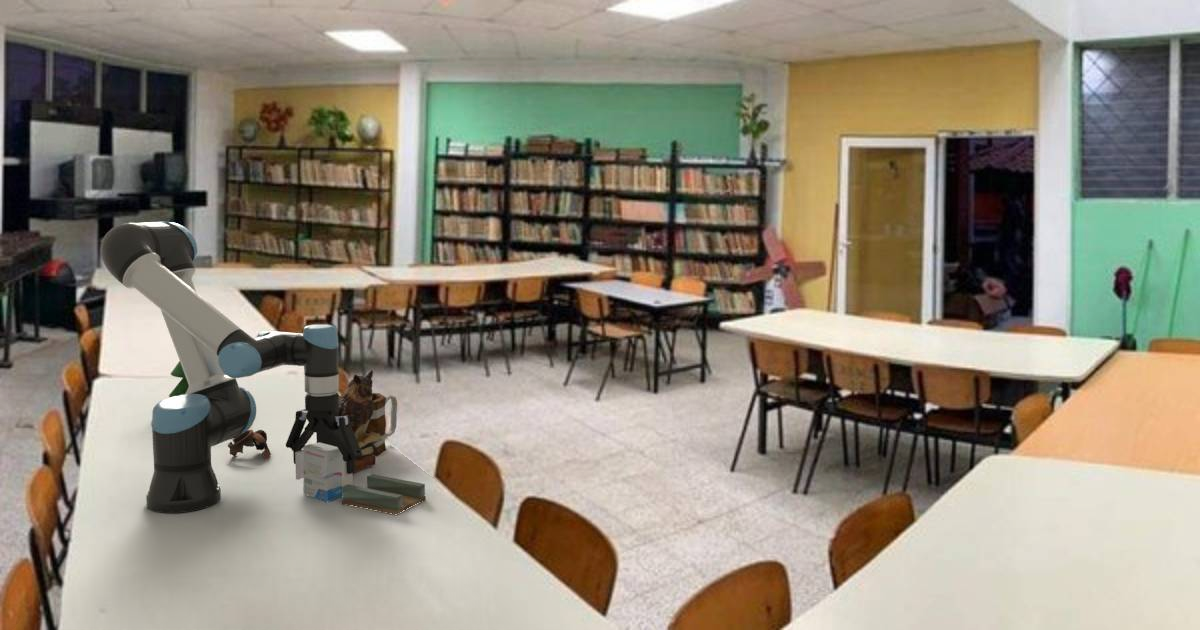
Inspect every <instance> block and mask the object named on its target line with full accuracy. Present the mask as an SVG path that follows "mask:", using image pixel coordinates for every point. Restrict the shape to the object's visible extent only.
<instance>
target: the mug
mask: <svg viewBox="0 0 1200 630" xmlns="http://www.w3.org/2000/svg"><path fill="white" fill-rule="evenodd" d="M343 396H344V393H343V394H339V401H340V399H342V397H343ZM372 400H373V403H374V404H373V405H374V410H373V415H372V416H371V418H370V420H369V423H368V427H367V429H366V430H367V431H370V432H375V433H378V434H380V436H381V439H382V440H381V441H378V442H376V443H374V445H375V447H376V453H375V454H374V455H375V457H378V456H380V455H382V454H383V453H386V451H387V447H386V437H391V436H392V435H394V434H395V431H396V429H397V420H398V419H397V417H398V416H397V414H398V401H397V397H396V396H395V395H392V394H386V395H383V394H381V393H380V392H379V393H377V392H372ZM389 400H390V402H391V408H390V427H389V430H388V431H386V426H387V423H386V422H387V421H386V404H387V403H388V401H389Z"/></svg>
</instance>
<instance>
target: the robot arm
mask: <svg viewBox="0 0 1200 630" xmlns="http://www.w3.org/2000/svg"><path fill="white" fill-rule="evenodd" d="M193 235H194V234H192V233H191V232H190V230H189V229H188V228H186V227H185V226H184V225H181V224H179V223H176V222H169V221H163V220H161V221H159V220H158V221H151V222H125V223H121V224H118V225H116V226H113V227H112V228H111V229H110V230H108V231H107V232H106V234H105V235H104V236H103V239H102V241H101V244H100V257H101V259H102V262H103V264H104V267H105V268H106V269H107V271H108V272H109V273H110V274H111V276H112V277H114V279H116V280H117V281H118V282H119V283H120V284H122V285H123V286H124V287H125V288H126V289H135V290H136V291H138V292H139V293H140V294H141V295H143V296H144V297H145V298H147V300H149V301H150V302H151V303H153V304H154V305H155V306H156V307H158V309H160V312H161V314H162V317H163V320H164V322H165V325H166V327H167V329H168V333H169V335H170V339H171V341H172V344H173V346H174V348H175V351H176V354H177V357H178V360H179V361H180V362H181V365H182V368H183V371H184V373H185V376H186V379H187V381H188V384H189V388H188V390H187V392H186V394H183V395H180V396H173V397H169V396H168V397H167V398H165V399H162V400H160V401H159V402H157V403H156V404H155V405H154V407H153V409H152V412H151V413H152V414H151V416H152V417H151V418H152V419H151V423H150V424H151V425H150V426H151V431H152V449H153V450H152V452H153V455H152V456H153V475H152V477H151V481H150V485H149V490H148V491H147V493H146V499H145V500H146V507H147V508H148V509H149V510H151V511H153V512H158V513H167V514H168V513H169V514H170V513H171V514H173V513H174V514H175V513H176V514H177V513H187V512H194V511H198V510H202V509H206V508H208V507H210V506H213V505H215V504H217V503H218V502H219V501H220V500H221V498H222V497H221V486H220V484H219V483H218V482H219V481H218V479H217V476H216V473H215V471H214V468H213V466H212V447H215V446H217V445H219V444H222V443H225V442H227V441H229V440H233V439H234V438H236V437H238V436H240V435H241V434H243V433H244V432H246V431H247V430H250V429H251V427H252V426H253V424H254V422H255V420H256V418H257V403H256V401H255V397H253V396H254V395H252V393H251V392H250V391H248V390H246V388H244V387H242V386H239V384H238V382H237V381H238V380H237V379H240V378H246V377H252V376H254V375H256V374H258V373H261V372H265V371H268V370H271V369H274V368H275V369H276V368H278V367H281V366H297V367H303V369H304V370H303V371H304V372H303V373H304V375H303V376H304V392H305V393H306V394H305V395H304V408H303V409H299V410H297V411H296V412H295V418H294V419H295V420H294V422H293V424H292V427H291V430H290V432H289V435H288V438H287V440H286V442H285V447H286V448H288V449H289V448H290V449H291V451H292V452H293V455H292V456H293V463H294V465H295V479H296V480H301V479H304V464H303V447H304V446H305V445H307V443H308V442H309V441H310V440H311V438H312V436H313V435H314V433H315V434H316V433H318V432H321V433H323V434H327V435H328V436H329V437H331V438H332V440H333V441H334V443H335V444H336V446H337V447H338V449H339V451H340V452H341V454H342V455H343V457H344V458H345V459H344V460H342V488H343V486H345V485H348V484H349V485H354V484H353V483H354V482H353V481H354V480H353V479H354V478H353V477H354V475H353V473H355V472H356V471H355V458H357V457H360V456H362V452H361V449H360V447H359V444H358V442H357V439H356V437H355V434H354V432H353V429H352V427H351V423H350V417H349V415H346V416H339V415H338V409H339V396H340V394H339V392H338V391H339V390H340V381H339V380H340V379H339V378H340V375H339V346H340V343H339V336H338V329H337V328H336V327H335V326H334V325H332V324H310V325H306V326H305V327H304V328H303V332H302V333H301V332H300V333H299V332H287V331H277V330H271V331H261V332H259V333H258V334H257V335H256V336H255V337H254V338H253V337H252V336H250V334H248V333H247V332H245V331H244V330H243V329H242V328H241V327H240V326H238V325H237V324H235V323H234V322H233V321H232V320H231V319H229V318H228V317H227V316H226V315H225V314H224V313H222V312H221V311H219V310H218V309H217V308H216V307H215V306H214V305H212V304H211V303H210V302H209V301H208V300H206V299H205V298H204V297H203V296H202V295H200V294H199V293H198V292H197V290H196V288H195V285H194V282H193V280H192V279H193V277H194V276H193V275H194V274H195V273H196V267H195V265H194V263H195V262H196V259H197V255H198V244H197V241H196V239H195V237H194V236H193ZM307 422H308V424H307V425H306V423H307ZM337 423H338V424H337ZM305 425H306V426H305ZM334 429H335V430H334ZM303 430H304V431H303ZM333 430H334V431H333ZM354 471H355V472H354Z"/></svg>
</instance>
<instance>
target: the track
mask: <svg viewBox="0 0 1200 630" xmlns="http://www.w3.org/2000/svg"><path fill="white" fill-rule="evenodd" d="M366 477H367V478H366V487H364V486H363V487H362V486H357V485H354V484H353V485H349V484H348V485H345V486H343V496H342V499H341V504H342V505H344V504H347V505H346V506H349V505H353V506H352V507H354V506H357V507H356V508H359V507H362V508H361V509H363V508H368V509H372V510H371V511H373V510H377V511H376V512H378V511H381V512H380V513H383V512H387V513H392V514H398V513H400V512H402V511H403V510H406V509H407V508H409V507H411V506H413V505H415V504H417V503H419V502H421V503H423V502H425V501H426V499H427V498H426V495H425V494H426V486H425V485H426V484H425V483H421V482H416V481H411V480H405V479H399V478H396V477H389V476H384V475H379V474H374V473H371V474H368V475H367V476H366ZM424 500H425V501H424ZM422 501H423V502H422ZM368 509H367V510H368ZM406 511H407V510H406ZM387 513H386V514H387ZM402 513H403V512H402ZM392 514H391V515H392ZM400 514H401V513H400ZM398 515H399V514H398Z"/></svg>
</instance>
